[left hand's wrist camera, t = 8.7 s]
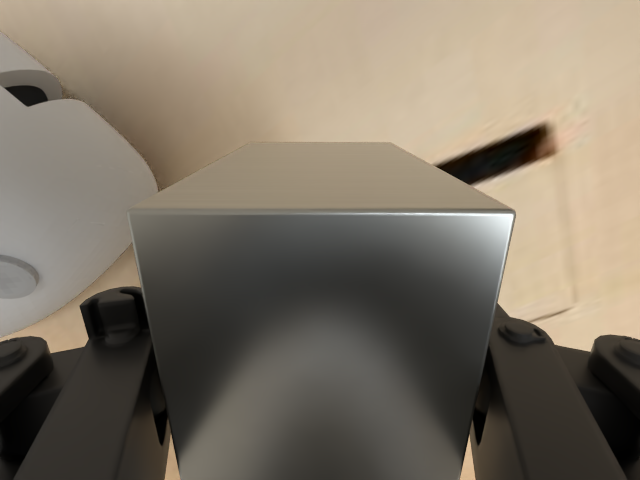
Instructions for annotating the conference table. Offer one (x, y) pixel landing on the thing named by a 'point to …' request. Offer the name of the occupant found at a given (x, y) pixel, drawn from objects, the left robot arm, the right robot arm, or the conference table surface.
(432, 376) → the bar
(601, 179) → the conference table surface
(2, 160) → the projector
